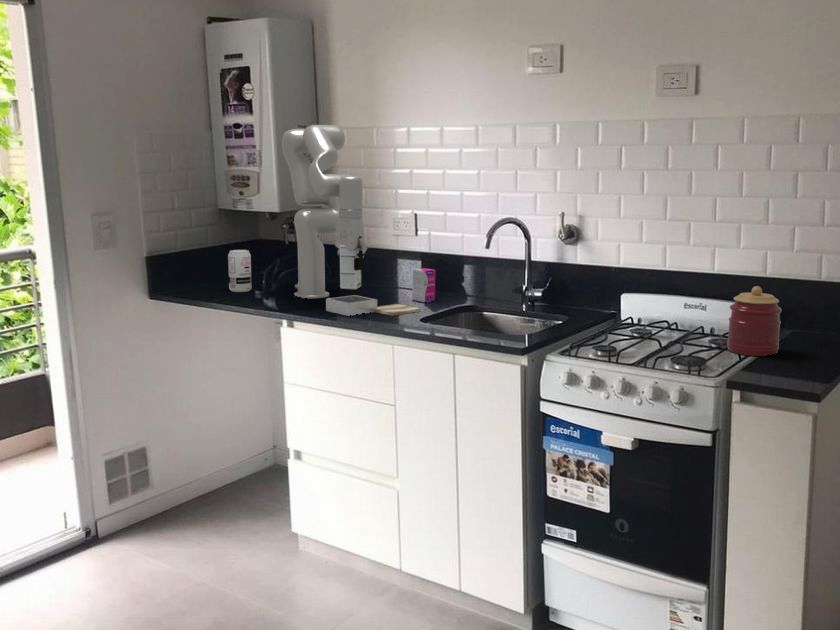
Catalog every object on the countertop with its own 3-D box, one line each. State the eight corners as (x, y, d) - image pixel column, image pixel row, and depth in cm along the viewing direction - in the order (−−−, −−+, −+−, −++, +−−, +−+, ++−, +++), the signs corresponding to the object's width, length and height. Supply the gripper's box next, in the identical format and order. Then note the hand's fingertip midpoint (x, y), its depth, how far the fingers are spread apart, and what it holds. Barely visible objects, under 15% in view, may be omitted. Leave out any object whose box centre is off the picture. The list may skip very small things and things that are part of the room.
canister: (788, 353, 236) (794, 287, 232) (759, 359, 228) (764, 291, 225) (745, 344, 246) (750, 281, 243) (716, 350, 239) (720, 285, 235)
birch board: (369, 310, 293) (369, 307, 293) (397, 306, 301) (397, 303, 301) (392, 315, 285) (392, 312, 284) (420, 311, 292) (420, 308, 292)
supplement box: (423, 303, 308) (423, 270, 306) (412, 301, 312) (412, 269, 310) (435, 301, 312) (435, 269, 309) (424, 299, 316) (424, 267, 314)
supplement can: (233, 288, 338) (232, 249, 335) (254, 289, 337) (253, 249, 334) (226, 292, 330) (224, 251, 327) (247, 292, 329) (246, 252, 326)
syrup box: (356, 289, 288) (357, 245, 285) (339, 288, 289) (339, 244, 286) (361, 286, 294) (361, 243, 291) (344, 285, 295) (344, 242, 292)
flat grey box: (313, 307, 298) (313, 296, 298) (342, 303, 306) (342, 292, 305) (348, 315, 284) (347, 303, 283) (377, 311, 292) (377, 299, 291)
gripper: (325, 212, 291) (325, 266, 294) (357, 217, 278) (357, 272, 281) (343, 211, 295) (343, 264, 299) (376, 216, 283) (376, 270, 286)
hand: (350, 268), depth 290 cm, fingers closed on syrup box, 7 cm apart
